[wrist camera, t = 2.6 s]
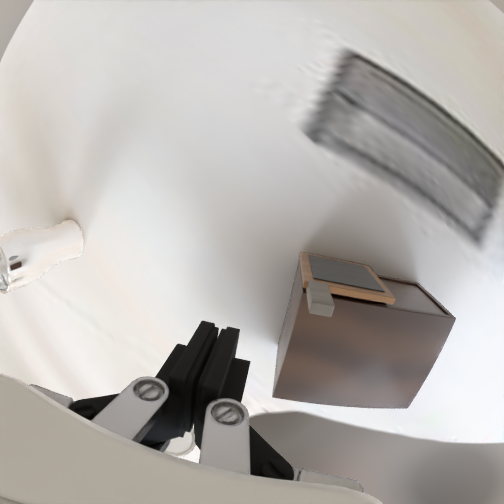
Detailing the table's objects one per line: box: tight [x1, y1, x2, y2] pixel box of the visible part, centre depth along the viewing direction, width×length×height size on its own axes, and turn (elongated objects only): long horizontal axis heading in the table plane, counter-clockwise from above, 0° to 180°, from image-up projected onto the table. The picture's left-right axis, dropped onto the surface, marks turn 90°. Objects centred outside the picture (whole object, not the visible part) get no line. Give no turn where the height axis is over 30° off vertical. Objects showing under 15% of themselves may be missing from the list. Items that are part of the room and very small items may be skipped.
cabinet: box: [272, 259, 456, 408], centre depth 27 cm, size 12×16×10 cm
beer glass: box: [0, 220, 84, 293], centre depth 28 cm, size 7×7×15 cm
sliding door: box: [299, 252, 396, 317], centre depth 24 cm, size 1×8×14 cm, turn 80°
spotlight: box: [164, 427, 196, 458], centre depth 39 cm, size 8×11×8 cm
